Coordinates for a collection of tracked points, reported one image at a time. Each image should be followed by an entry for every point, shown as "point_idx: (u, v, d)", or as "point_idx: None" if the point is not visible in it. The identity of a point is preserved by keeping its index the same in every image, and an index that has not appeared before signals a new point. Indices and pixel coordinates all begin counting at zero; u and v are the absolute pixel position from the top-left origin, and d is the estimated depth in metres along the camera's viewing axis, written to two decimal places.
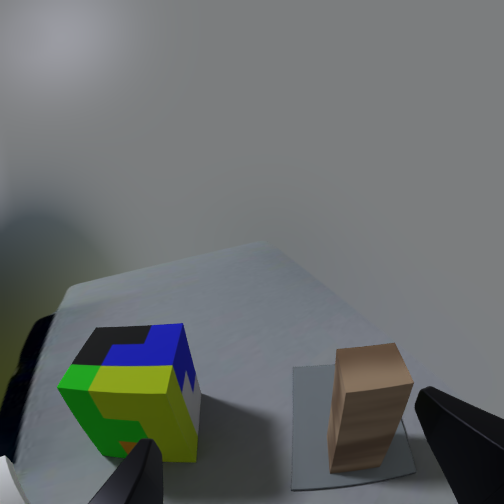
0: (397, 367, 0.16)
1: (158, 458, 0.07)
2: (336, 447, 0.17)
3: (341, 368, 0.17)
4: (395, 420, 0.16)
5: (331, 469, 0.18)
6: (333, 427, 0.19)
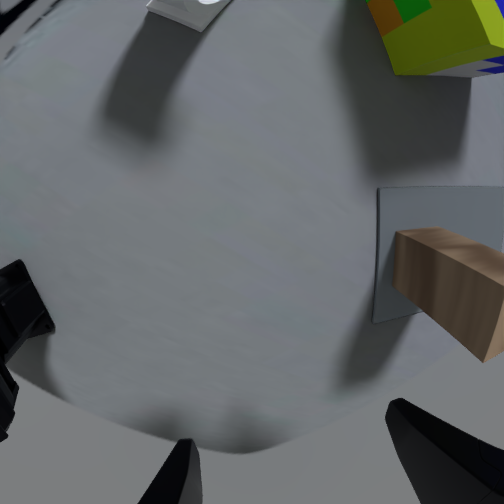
0: (503, 344, 0.11)
1: (197, 458, 0.07)
2: (433, 249, 0.16)
3: None
4: (447, 324, 0.14)
5: (401, 234, 0.19)
6: (454, 245, 0.16)
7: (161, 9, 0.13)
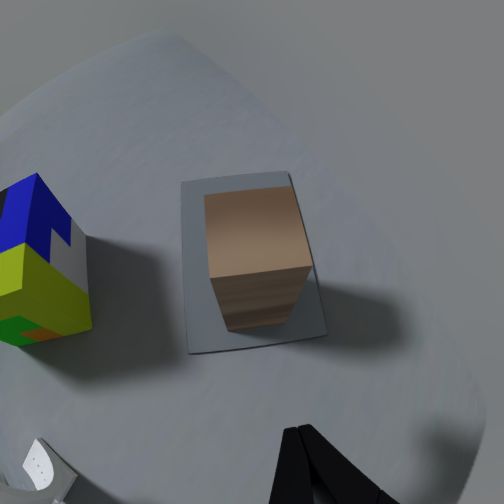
0: (290, 233, 0.13)
1: None
2: (223, 316, 0.18)
3: (207, 231, 0.13)
4: (292, 294, 0.16)
5: (227, 328, 0.21)
6: None
7: (60, 495, 0.14)
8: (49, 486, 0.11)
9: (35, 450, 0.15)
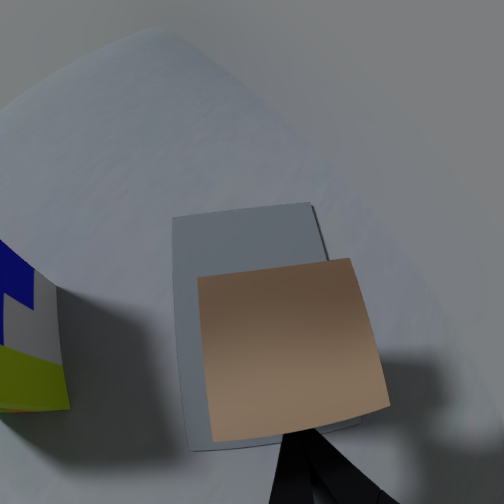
0: (354, 351, 0.07)
1: None
2: None
3: (204, 351, 0.07)
4: None
5: None
6: None
7: None
8: None
9: None
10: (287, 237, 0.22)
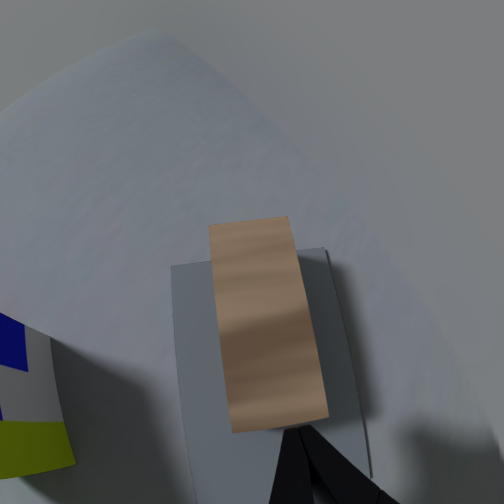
0: None
1: None
2: (220, 338, 0.13)
3: None
4: (293, 278, 0.15)
5: (231, 417, 0.12)
6: None
7: None
8: None
9: None
10: None
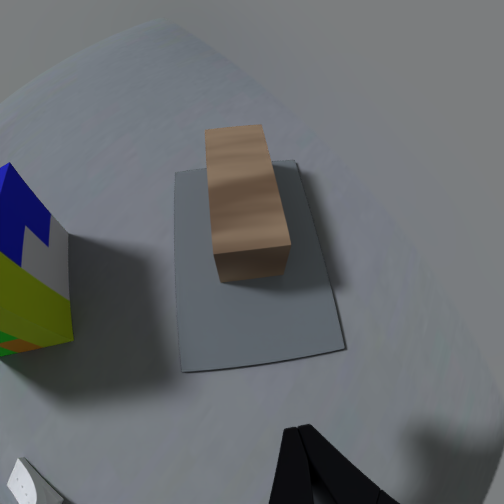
0: None
1: None
2: (208, 190, 0.19)
3: None
4: (264, 157, 0.20)
5: (213, 241, 0.17)
6: None
7: None
8: None
9: (18, 470, 0.12)
10: None
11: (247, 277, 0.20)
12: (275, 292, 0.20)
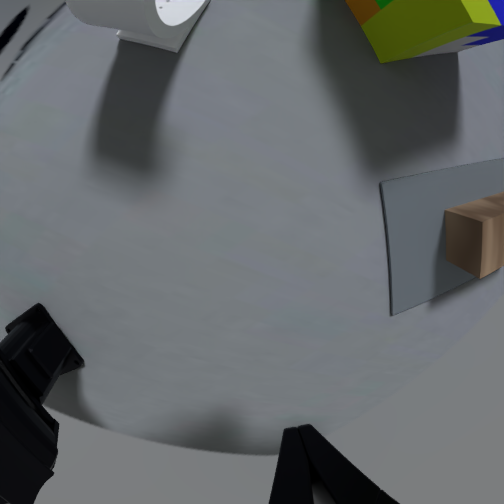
0: None
1: None
2: None
3: None
4: None
5: (488, 220, 0.15)
6: (495, 204, 0.17)
7: (132, 36, 0.13)
8: (163, 24, 0.10)
9: None
10: None
11: (448, 233, 0.20)
12: (435, 255, 0.21)
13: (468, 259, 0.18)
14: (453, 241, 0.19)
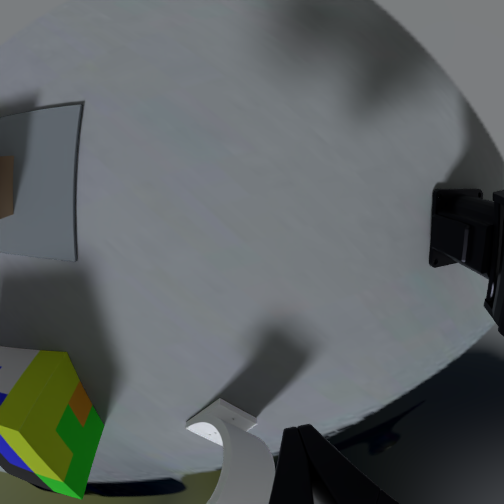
0: None
1: None
2: None
3: None
4: None
5: None
6: None
7: (246, 419, 0.23)
8: (222, 438, 0.19)
9: (199, 431, 0.23)
10: None
11: (10, 189, 0.15)
12: (24, 165, 0.15)
13: None
14: (5, 183, 0.15)
